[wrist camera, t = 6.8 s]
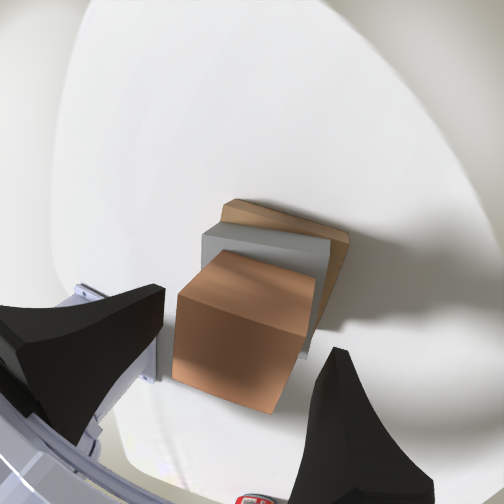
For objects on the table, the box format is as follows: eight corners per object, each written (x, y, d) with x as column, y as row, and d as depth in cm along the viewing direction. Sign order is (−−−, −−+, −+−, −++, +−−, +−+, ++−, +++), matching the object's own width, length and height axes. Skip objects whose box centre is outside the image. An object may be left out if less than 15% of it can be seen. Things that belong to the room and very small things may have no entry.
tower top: (217, 313, 18) (201, 335, 16) (220, 221, 16) (202, 234, 14) (310, 333, 17) (306, 359, 15) (330, 239, 15) (329, 256, 13)
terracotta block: (209, 324, 16) (172, 377, 12) (222, 249, 14) (178, 293, 10) (288, 350, 15) (271, 414, 11) (315, 278, 13) (306, 337, 9)
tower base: (217, 292, 21) (204, 309, 19) (237, 197, 18) (223, 204, 16) (312, 324, 20) (308, 345, 17) (347, 230, 17) (349, 243, 15)
